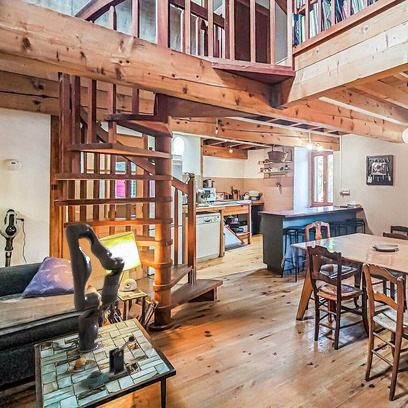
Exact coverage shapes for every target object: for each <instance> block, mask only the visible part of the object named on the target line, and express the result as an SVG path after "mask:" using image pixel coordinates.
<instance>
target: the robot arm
mask: <svg viewBox="0 0 408 408" xmlns="http://www.w3.org/2000/svg"><path fill="white" fill-rule="evenodd" d="M64 234H65V239H66V243H67V248H68V252H69V259H70V268H71V269H70V270H71V275H72V276H71V277H72V284H73V305H74V309H75V311H77V312H78V313H82V312H83V313H82V314H81V315H79V316H78V318H77V328H78V329H77V331H78V333H77V339H74V341H73V342H72V343H71V344H70V346H67V347H63V346H60V343H59V342H57V341H45V342H41V343H39V344H37V345H36V346H35V347H36V348H38V347H40V346H42V345H46V344H54V345H56V349H60V350H67V349H71V348H72V347H73V346H77V351H78V353H88V352H92V351H94V350H96V349H98V348H99V341H100V337H99V325H102V324H103V321H104V316H105V314H106V313H107V312H109V316H108V319H109V320H114V318H115V314H116V312H117V311H118V310H119V306H120V305H119V303H120V300H119V299H118V295H119V282H120V277H121V275H122V273H123V270H124V269H125V264H126V263H125V260H124V258H123V257H121V256H118V257H117V256H116V257H112V256H113V252H112V251H111V250H110V249H109V248H108V247H107V246H106V245H105V244H104V243H103V242H102V241H101V240H100V238H99V237H98V235H97V233H96V232H95V231H94V229H93V228H92V227H91V225H89V224H88V223H85V222H84V223H83V222H82V223H71V224H68V225H66V227H65V229H64ZM84 239H85V240H87V242H89V245H90V246H89V249H90V252H91V253H92V255H93V256H94V257H95V258H97V260H98V261H99V264H100V265H101V267H102V268H103V269H104V270H106V271H109V273H107V274H105V275H104V279H103V285H102V289H101V295H99V294H98V293H97V292H94V291H93V292H88V293H86V285H87V283H88V281H89V279H90V277H91V275H92V272H93V268H92V266H93V265H92V260H91V258H90V256H89V255H87V253H86V252H85V251H84V250H83V249H82V247H81V245H80V242H79V240H84Z"/></svg>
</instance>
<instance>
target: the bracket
mask: <svg viewBox="0 0 408 408" xmlns="http://www.w3.org/2000/svg"><path fill="white" fill-rule="evenodd" d="M116 349H117V350H119V349H120V346H119V347H115V348H113V349H110V350H109V351H108V371H109V372H108V373H109V374H112V373H113V375H114V376H117V375H118V374H121V373H122V372H124V371H125V348H124V349H121V350H119V351H117V352H114V351H115V350H116ZM113 352H114V356H113V355H112V353H113Z"/></svg>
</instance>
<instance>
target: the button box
mask: <svg viewBox="0 0 408 408" xmlns="http://www.w3.org/2000/svg"><path fill="white" fill-rule="evenodd" d="M108 381H110V378H109V377H108V376H105V375H104V372H102V371H100V376H99V377H97V378H91V374H89V375H88V376H87V377H85V378H83V379H82V380H80V383H81V384H83V385H85V386H89V387H90V388H93V389H94V388H97V387H99V386H100V385H102V384H104V383H106V382H108Z"/></svg>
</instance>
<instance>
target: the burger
mask: <svg viewBox="0 0 408 408" xmlns="http://www.w3.org/2000/svg"><path fill="white" fill-rule="evenodd" d="M91 364H93V365H92V366H90V367H88V368H86V367H87V366H89V365H91ZM96 364H97V362H96V360H95V359H86V358H83V357H79V358H77V359H76V360H75V362H74V363H72V364H70V365H69V366H68V367H67V369H66V373H67V374H77V373H81V372H84V371H85V372H86V371H88V370H89V369H91V368H93V367H94V366H95V365H96ZM81 369H82V370H81ZM77 370H79V371H77Z"/></svg>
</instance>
